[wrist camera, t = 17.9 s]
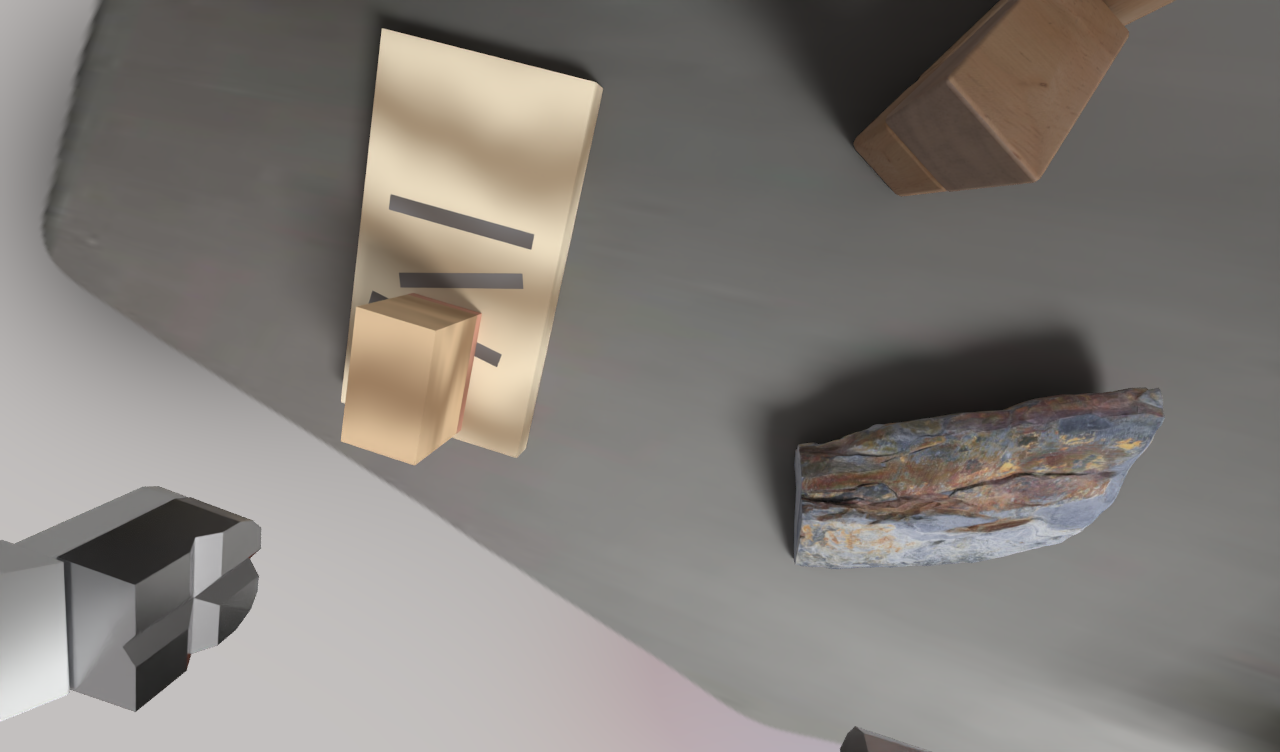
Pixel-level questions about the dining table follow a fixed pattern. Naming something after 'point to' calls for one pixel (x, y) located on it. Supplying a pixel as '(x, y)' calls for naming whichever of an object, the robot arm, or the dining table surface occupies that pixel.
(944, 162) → the stacked wooden blocks
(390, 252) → the board
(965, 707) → the dining table surface
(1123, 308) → the dining table surface
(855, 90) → the dining table surface
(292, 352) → the dining table surface
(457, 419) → the block
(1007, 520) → the stone
